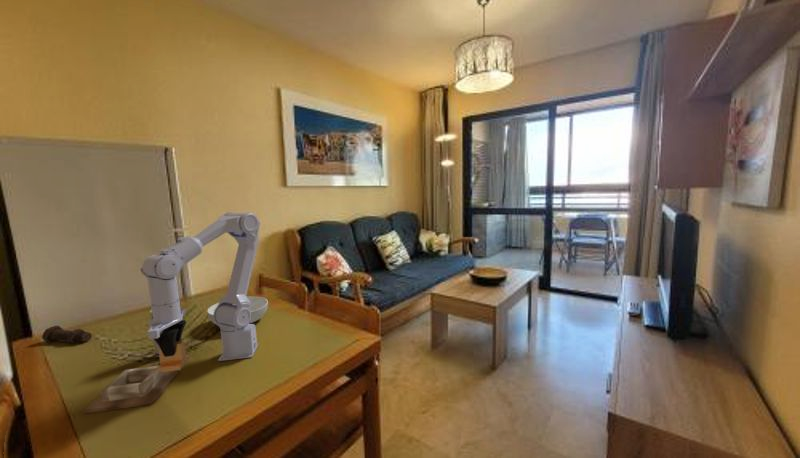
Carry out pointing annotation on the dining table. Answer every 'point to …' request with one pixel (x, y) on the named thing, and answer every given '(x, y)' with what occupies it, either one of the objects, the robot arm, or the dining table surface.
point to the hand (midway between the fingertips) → (172, 353)
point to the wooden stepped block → (173, 358)
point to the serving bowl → (257, 309)
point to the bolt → (65, 335)
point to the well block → (132, 389)
